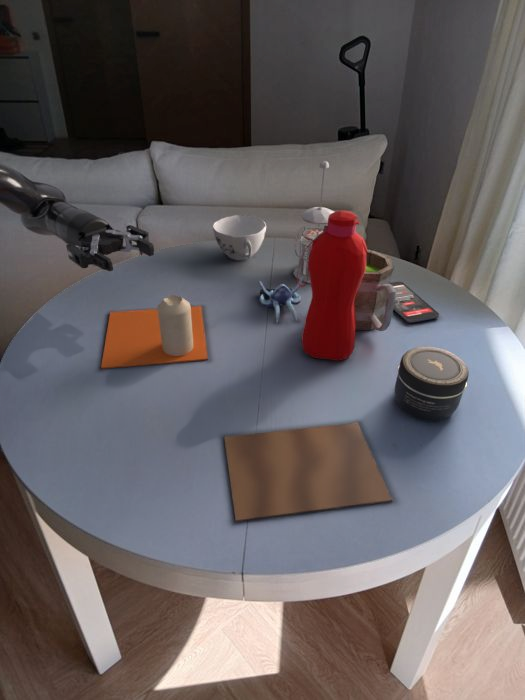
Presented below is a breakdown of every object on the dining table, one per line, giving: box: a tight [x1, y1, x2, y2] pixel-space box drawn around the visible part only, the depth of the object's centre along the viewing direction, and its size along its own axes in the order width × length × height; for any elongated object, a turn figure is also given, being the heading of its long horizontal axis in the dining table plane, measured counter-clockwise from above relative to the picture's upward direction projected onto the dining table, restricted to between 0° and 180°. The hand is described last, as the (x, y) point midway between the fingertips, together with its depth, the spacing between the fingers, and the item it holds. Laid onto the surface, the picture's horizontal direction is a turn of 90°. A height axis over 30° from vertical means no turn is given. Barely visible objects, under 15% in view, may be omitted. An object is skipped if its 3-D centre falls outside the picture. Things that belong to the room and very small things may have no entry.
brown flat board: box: [223, 422, 393, 522], centre depth 66 cm, size 20×14×1 cm
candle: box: [156, 294, 193, 356], centre depth 85 cm, size 6×6×10 cm
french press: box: [293, 160, 335, 284], centre depth 105 cm, size 10×12×25 cm
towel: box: [100, 305, 208, 370], centre depth 92 cm, size 18×18×1 cm
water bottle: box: [296, 210, 368, 361], centre depth 82 cm, size 9×11×25 cm
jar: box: [394, 346, 470, 423], centre depth 75 cm, size 10×10×8 cm
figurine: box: [258, 277, 303, 324], centre depth 99 cm, size 10×12×8 cm
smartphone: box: [386, 281, 440, 324], centre depth 102 cm, size 7×1×15 cm
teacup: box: [212, 214, 267, 261], centre depth 117 cm, size 15×12×8 cm
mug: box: [354, 249, 396, 332], centre depth 93 cm, size 16×11×12 cm
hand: (132, 258), depth 86 cm, fingers open, 8 cm apart
